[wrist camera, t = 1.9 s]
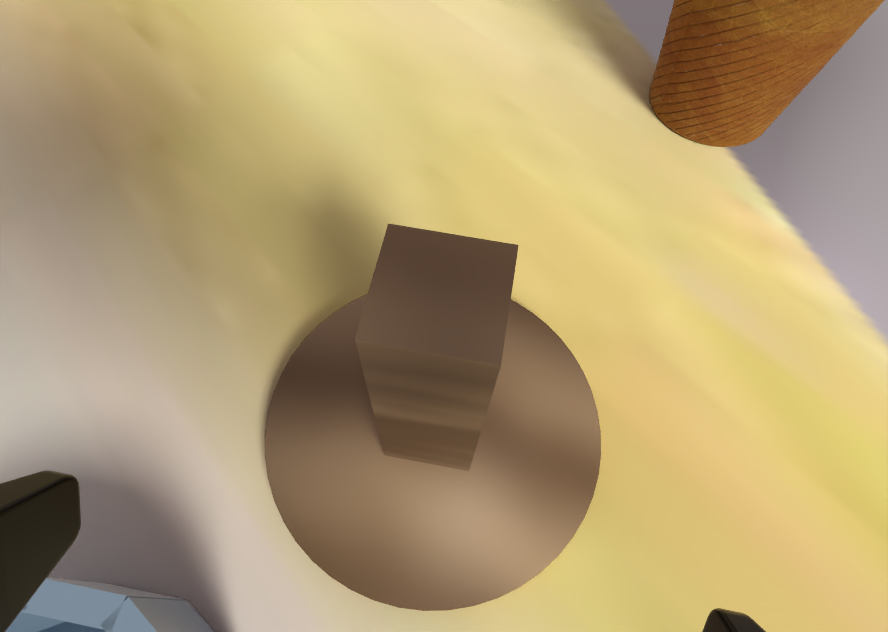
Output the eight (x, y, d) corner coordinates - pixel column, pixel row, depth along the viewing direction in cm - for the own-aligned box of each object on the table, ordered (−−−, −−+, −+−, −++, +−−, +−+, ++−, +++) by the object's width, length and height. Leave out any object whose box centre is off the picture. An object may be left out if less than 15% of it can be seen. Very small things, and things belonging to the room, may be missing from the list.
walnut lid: (585, 646, 17) (749, 676, 9) (220, 570, 18) (28, 527, 9) (601, 317, 23) (710, 134, 14) (323, 269, 24) (263, 67, 15)
